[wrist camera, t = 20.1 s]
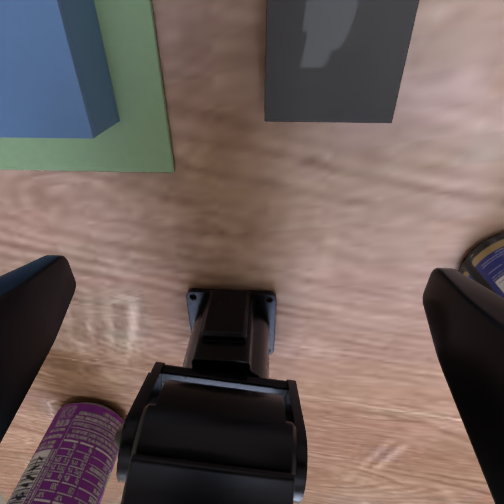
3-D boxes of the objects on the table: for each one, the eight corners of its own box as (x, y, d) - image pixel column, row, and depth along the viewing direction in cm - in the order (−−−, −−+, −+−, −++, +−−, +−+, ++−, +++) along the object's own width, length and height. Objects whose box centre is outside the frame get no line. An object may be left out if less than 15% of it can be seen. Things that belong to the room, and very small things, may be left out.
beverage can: (64, 426, 37) (-12, 573, 27) (57, 390, 33) (-35, 546, 23) (129, 437, 38) (77, 584, 28) (129, 402, 34) (70, 561, 24)
